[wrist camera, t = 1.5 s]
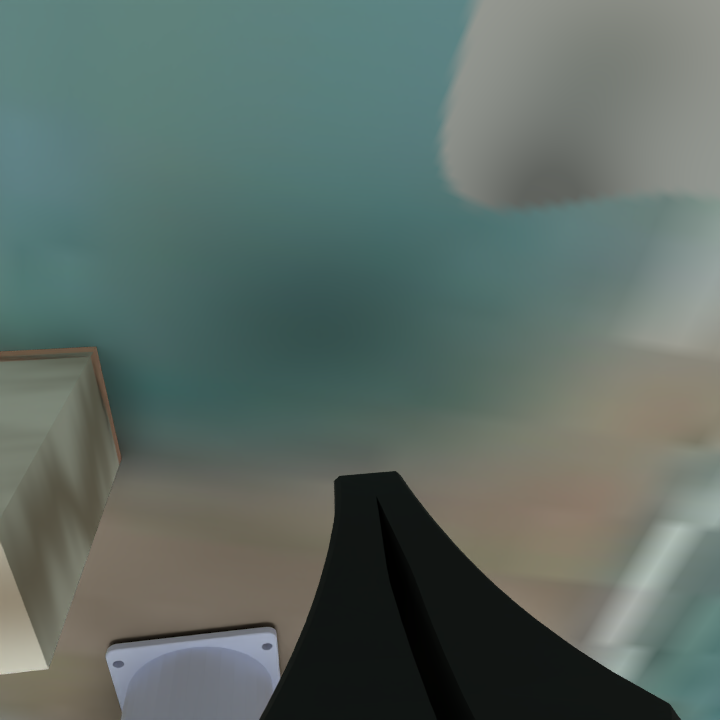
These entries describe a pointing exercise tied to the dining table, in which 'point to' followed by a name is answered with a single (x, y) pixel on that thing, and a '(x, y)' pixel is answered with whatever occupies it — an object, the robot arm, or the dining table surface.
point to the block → (49, 492)
